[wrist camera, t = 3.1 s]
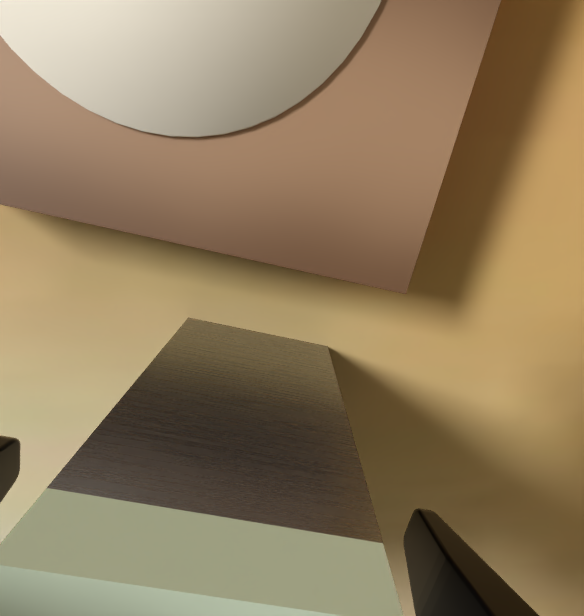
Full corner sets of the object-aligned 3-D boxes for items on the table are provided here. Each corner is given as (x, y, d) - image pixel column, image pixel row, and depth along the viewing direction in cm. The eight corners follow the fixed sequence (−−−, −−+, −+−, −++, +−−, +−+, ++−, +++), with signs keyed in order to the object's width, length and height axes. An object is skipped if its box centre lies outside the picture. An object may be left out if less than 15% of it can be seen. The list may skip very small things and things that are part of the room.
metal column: (296, 460, 13) (311, 841, 5) (169, 437, 13) (-12, 808, 5) (327, 346, 12) (405, 624, 4) (188, 317, 11) (-16, 563, 4)
